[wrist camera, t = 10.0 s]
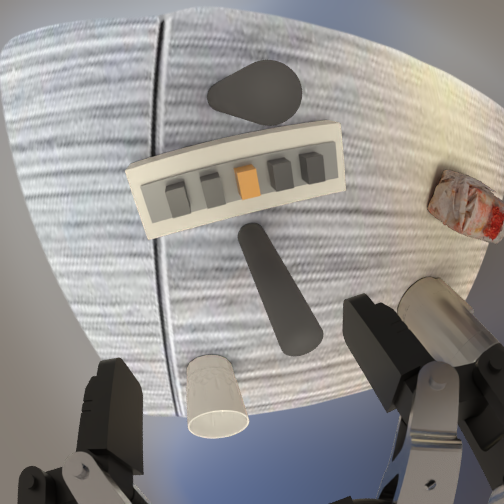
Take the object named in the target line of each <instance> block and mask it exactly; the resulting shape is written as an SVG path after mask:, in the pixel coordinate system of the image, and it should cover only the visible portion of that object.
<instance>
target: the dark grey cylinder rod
mask: <svg viewBox="0 0 504 504" xmlns="http://www.w3.org/2000/svg"><path fill="white" fill-rule="evenodd" d="M238 241H239V243H240V246H241V248H242V251H243V254H244V256H245V259H246V261H247V264H248V266H249V269H250V271H251V274H252V277H253V279H254V282H255V284H256V287H257V289H258V292H259V294H260V297H261V299H262V302H263V304H264V307H265V310H266V312H267V315H268V317H269V320H270V322H271V325H272V327H273V330H274V332H275V335H276V337H277V340H278V342H279V345H280V347H281V350H282V351H283V353H285V354H286V355H289V356H301V355H304V354H307V353H309V352H311V351H312V350H314V349H315V348H316V347H317V346H318V345H319V344H320V343H321V341H322V339H323V330H322V328H321V327H320V325H319V323H318V321H317V320H316V318H315V316H314V314H313V313H312V311H311V309H310V308H309V306H308V304H307V302H306V301H305V299H304V297H303V295H302V294H301V292H300V290H299V288H298V287H297V285H296V283H295V282H294V280H293V278H292V276H291V275H290V273H289V271H288V270H287V268H286V266H285V265H284V263H283V261H282V259H281V258H280V256H279V254H278V253H277V251H276V249H275V248H274V246H273V244H272V242H271V241H270V239H269V237H268V236H267V234H266V232H265V231H264V229H263V228H262V227H261V226H260V225H259V224H255V223H250V224H247V225H245V226H243V227H242V228H241V229H240V231H239V233H238Z"/></svg>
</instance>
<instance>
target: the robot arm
mask: <svg viewBox="0 0 504 504" xmlns="http://www.w3.org/2000/svg"><path fill="white" fill-rule="evenodd" d="M473 313H474V310H473V308H472V307H471V306H470V305H469V304H467V302H466V301H465V300H464V299H462V298H461V297H460V296H459V295H458V294H457V293H456V292H455V291H454V290H453V289H452V288H451V287H450V286H448V285H447V284H446V283H445V282H444V281H443V280H442V279H441V278H438V279H435V278H433V277H426V278H423V279H421V280H419V281H418V282H416V283H415V284H414V285H412V286H411V287H410V288H409V289H408V291H407V292H406V293H405V295H404V296H403V298H402V299H401V302H400V304H399V307H398V314H397V313H396V312H395V311H394V310H393V309H392V308H390V307H388V306H387V305H385V304H383V303H378V304H374V303H373V302H372V300H371V299H370V298H369V297H368V296H367V295H366V294H365V293H363V294H360V295H357V296H354V297H351V298H348V299H345V300H344V303H343V336H344V339H345V342H346V344H347V346H348V348H349V349H350V351H351V353H352V354H353V356H354V358H355V359H356V361H357V363H358V364H359V366H360V368H361V369H362V371H363V373H364V374H365V376H366V378H367V380H368V381H369V383H370V385H371V386H372V388H373V389H374V391H375V393H376V395H377V397H378V398H379V400H380V402H381V403H382V405H383V407H384V409H385V410H386V412H387V413H388V412H390V411H392V410H394V409H397V410H398V412H399V413H400V417H399V422H398V426H397V431H396V436H395V440H394V445H393V448H392V453H391V457H390V460H389V464H388V467H387V469H386V471H385V473H384V476H383V479H382V481H381V484H380V488H379V491H378V494H377V497H376V499H355V500H352V498H351V496H349V497H346V498H344V499H341V500H338V501H335V502H333V503H330V504H453V502H454V497H455V492H456V487H457V482H458V476H459V470H460V463H461V456H462V442H461V440H460V439H458V438H457V423H458V425H459V427H460V429H461V431H462V432H463V434H464V436H465V438H466V440H467V441H468V443H469V445H470V447H471V449H472V450H473V452H474V454H475V456H476V458H477V460H478V462H479V464H480V466H481V468H482V470H483V472H484V474H485V476H486V478H487V480H488V482H489V484H490V486H491V488H492V490H493V492H492V494H491V496H490V498H489V502H488V504H504V347H503V346H502V344H500V342H499V341H498V340H497V339H496V338H495V337H494V336H493V335H492V334H491V333H490V332H489V331H488V330H487V329H486V328H485V327H484V326H483V325H482V324H481V323H480V322H479V320H478V319H477V318H475V316H474V315H473ZM83 401H84V403H83V405H82V413H81V418H80V425H79V432H78V441H77V448H76V452H75V453H72V454H71V455H70V456H68V457H67V458H66V460H65V462H64V464H63V467H60V468H57V469H54V470H51V471H47V472H44V471H42V470H41V469H39V468H37V467H35V466H29V467H27V468H25V469H24V470H23V471H22V473H21V475H20V477H19V485H18V504H152V503H151V502H150V501H149V500H148V499H147V498H146V497H145V495H144V494H143V493H142V492H141V491H140V490H139V489H138V487H137V486H136V485H135V484H134V483H133V475H143V474H144V472H143V437H142V436H143V431H142V430H143V393H142V389H141V386H140V384H139V382H138V381H137V379H136V378H135V376H134V375H133V374H132V372H131V371H130V370H129V368H128V367H127V365H126V364H125V362H124V361H123V360H122V359H121V358H114V359H108V360H102V361H100V363H99V366H98V371H97V376H93V377H92V378H91V379H90V381H89V383H88V385H87V387H86V389H85V394H84V400H83ZM427 488H428V490H426V489H427Z"/></svg>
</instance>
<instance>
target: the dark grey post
mask: <svg viewBox="0 0 504 504" xmlns="http://www.w3.org/2000/svg"><path fill="white" fill-rule="evenodd" d="M301 99H302V88H301V84H300V81H299V79H298V77H297V75H296V74H295V73H294V72H293V70H292V69H290V68H289V67H288V66H286V65H285V64H283V63H280V62H277V61H273V60H262V61H257V62H254V63H252V64H250V65H248V66H246V67H245V68H243V69H241V70H239V71H237V72H235V73H234V74H232V75H230V76H228V77H226V78H225V79H223V80H221V81H219V82H218V83H216V84H214V85H213V86H212V87H211V88H210V89H209V91H208V94H207V100H208V103H209V105H210V106H211V107H212V108H213V109H214V110H216V111H219V112H222V113H226V114H229V115H232V116H235V117H239V118H242V119H245V120H248V121H251V122H254V123H257V124H261V125H270V126H271V125H277V124H280V123H283V122H285V121H287V120H288V119H290V118H291V117H292V116H293V115H294V114H295V113H296V111H297V110H298V108H299V106H300V103H301Z"/></svg>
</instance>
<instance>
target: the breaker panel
mask: <svg viewBox="0 0 504 504" xmlns="http://www.w3.org/2000/svg"><path fill="white" fill-rule="evenodd" d="M125 172H126V175H127V179H128V182H129V185H130V188H131V191H132V194H133V197H134V200H135V203H136V206H137V209H138V212H139V215H140V218H141V221H142V224H143V226H144V229H145V232H146V235H147V237H148V240H151V239H154V238H158V237H161V236H165V235H168V234H172V233H176V232H179V231H183V230H187V229H190V228H194V227H198V226H201V225H205V224H209V223H213V222H216V221H220V220H224V219H228V218H232V217H236V216H240V215H244V214H248V213H252V212H256V211H260V210H264V209H268V208H272V207H276V206H280V205H284V204H289V203H293V202H297V201H301V200H306V199H310V198H314V197H319V196H323V195H328V194H332V193H337V192H341V191H346V185H345V169H344V156H343V145H342V134H341V125H340V123H339V122H334V121H329V120H322V121H315V122H307V123H301V124H294V125H288V126H282V127H276V128H270V129H265V130H260V131H254V132H249V133H245V134H240V135H235V136H230V137H226V138H222V139H217V140H213V141H209V142H205V143H201V144H197V145H193V146H189V147H185V148H181V149H178V150H174V151H171V152H167V153H164V154H160V155H157V156H153V157H150V158H147V159H144V160H140V161H137V162H134V163H131V164H130V165H129V166H128V168H127V169H126V170H125Z"/></svg>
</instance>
